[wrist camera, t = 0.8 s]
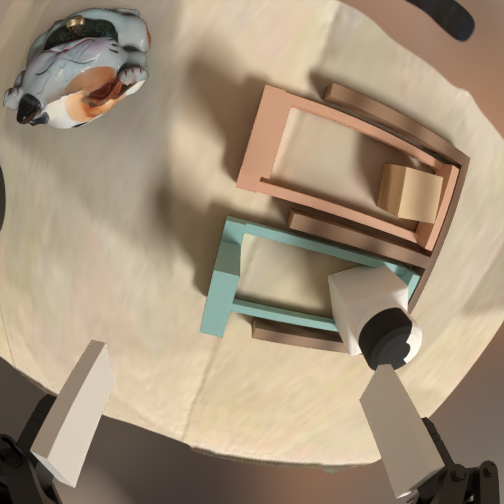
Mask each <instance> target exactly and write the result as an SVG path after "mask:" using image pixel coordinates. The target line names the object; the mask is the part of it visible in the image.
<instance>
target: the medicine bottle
mask: <svg viewBox="0 0 504 504" xmlns="http://www.w3.org/2000/svg"><path fill="white" fill-rule="evenodd" d="M328 283H329V290H330V298H331V305H332V313H333V319H334V321H335V323H336V328H337V330H338V332H339V334H340V336H341V339H342V341H343V343H344V345H345V347H346V349H347V352H348V354H349V355H350V356H354V355H357V354H360V353H362V354H363V356H364V358H365V360H366V362H367V364H368V365H369V367H370V368H371V369H372V370H374V371H376V369H377V367H378V365H385V364H391V366H392V367H393V369H394V370H396V369H398V368H400V367H402V366H404V365H405V364H406V363H408V362H409V361H410V360H411V359H412V358H413V357H414V356H415V354H416V353H417V351H418V350H419V348H420V345H421V341H422V330H421V328H420V326H419V325H418V324H417V323H416V321H415V320H414V319H413V318H412V317H411V316H410V314H409V313H408V312H407V310H408V286H407V285H406V284H405V283H404V282H403V281H402V280H401V279H400V278H399V277H398V276H397V275H396V274H395V273H394V272H393V271H392V270H391V269H389V268H388V267H387V266H386V265H383V266H380V267H377V268H374V267H371V266H367V265H362V266H359V267H355V268H352V269H348V270H344V271H341V272H337V273H333V274H330V275H328Z"/></svg>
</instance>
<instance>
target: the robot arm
mask: <svg viewBox="0 0 504 504" xmlns="http://www.w3.org/2000/svg"><path fill="white" fill-rule="evenodd" d="M4 215H5V188H4V181H3V176H2V172H1V169H0V230H1V228H2V225H3V221H4ZM114 384H115V380H114V376H113V372H112V368H111V364H110V360H109V355H108V351H107V346H106V343H104V342H99V341H95V340H91V342H90V343H89V345H88V347H87V348H86V350H85V351H84V353H83V355H82V356H81V358H80V359H79V361H78V363H77V364H76V366H75V368H74V369H73V371H72V373H71V374H70V376H69V378H68V379H67V381H66V383H65V384H64V386H63V388H62V390H61V391H60V393H59V395H58V397H55V396H52V395H50V394H47V395H46V396H45V397H43V398H42V399H41V400H40V401H39V403H38V404H37V406H36V408H35V411H33V413H32V415H31V418H29V420H28V422H27V424H26V426H25V428H24V429H23V431H22V433H21V435H20V437H19V439H18V441H17V442H15V441H14V440H13V439H12V438H11V437H10V436H8V435H6V434H0V504H63V503H62V501H61V499H60V497H59V495H58V493H57V490H56V488H55V485H54V483H53V482H52V479H53V476H55V477H56V478H57V479H58V480H59V481H60V482H63V483H65V484H67V485H70V486H72V487H74V488H75V486H76V483H77V479H78V477H79V474H80V471H81V468H82V465H83V462H84V459H85V457H86V454H87V451H88V448H89V446H90V443H91V440H92V437H93V435H94V432H95V430H96V427H97V425H98V422H99V419H100V417H101V415H102V412H103V410H104V407H105V405H106V403H107V400H108V398H109V396H110V393H111V391H112V389H113V386H114ZM360 403H361V405H362V408H363V410H364V413H365V415H366V418H367V420H368V423H369V425H370V428H371V431H372V433H373V436H374V438H375V441H376V444H377V446H378V449H379V452H380V454H381V457H382V460H383V463H384V465H385V468H386V471H387V474H388V476H389V479H390V482H391V485H392V488H393V491H394V494H395V496H396V498H399V497H402V496H405V495H408V494H410V493H412V492H413V491H414V490H415V489H417V490H418V493H416V494H415V495H413V496H412V497H411V498H409V499H408V500H407V503H409V502H410V501H412V500H413V499H414V500H413V502H412V503H411V504H500V500H499V480H498V470H497V467H496V465H495V464H494V463H493V462H492V461H484V462H483V463H482V464H481V465H480V466H479V467H474V468H465V467H464V466H462V465H460V464H455V463H454V462H453V461H452V459H451V457H450V455H449V453H448V451H447V449H446V447H445V445H444V443H443V441H442V440H441V437H440V435H439V434H438V433H437V430H436V428H435V426H434V424H433V423H432V422H431V421H430V420H429V419H428V418H427V417H425V418H421V417H420V415H419V414H418V412H417V410H416V408H415V406H414V404H413V403H412V401H411V399H410V397H409V395H408V394H407V392H406V390H405V388H404V386H403V385H402V383H401V381H400V379H399V378H398V376H397V374H396V373H395V371H394V369H393V367H392V366H391V364H385V365H378V367H377V369H376V371H375V373H374V375H373V376H372V378H371V380H370V382H369V384H368V386H367V388H366V389H365V391H364V393H363V395H362V396H361V398H360ZM472 496H474V497H473V501H471V500H470V497H472Z"/></svg>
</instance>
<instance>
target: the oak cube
mask: <svg viewBox="0 0 504 504" xmlns="http://www.w3.org/2000/svg"><path fill="white" fill-rule="evenodd" d="M442 181H443V177H440V176H437V175H433V174H430V173H427V172H423V171H420V170H416V169H412V168H409V167H404V166H399V165H393V164H388V163H384V164H383V171H382V178H381V184H380V190H379V196H378V202H377V207H379V208H381V209H383V210H385V211H387V212H389V213H391V214H392V215H394V216H396V217H399V218H405V219H411V220H416V221H422V222H427V223H433V224H434V223H435V218H436V214H437V209H438V204H439V199H440V193H441V187H442Z"/></svg>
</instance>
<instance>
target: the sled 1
mask: <svg viewBox="0 0 504 504" xmlns="http://www.w3.org/2000/svg"><path fill="white" fill-rule="evenodd" d="M291 107H294V108H297V109H300V110H303V111H306V112H309V113H312V114H315V115H317V116H320V117H323V118H326V119H328V120H331V121H334V122H336V123H339V124H341V125H344V126H346V127H349V128H351V129H354V130H356V131H358V132H361V133H363V134H365V135H368V136H370V137H372V138H374V139H376V140H379V141H381V142H383V143H385V144H387V145H389V146H391V147H393V148H395V149H397V150H399V151H401V152H403V153H405V154H407V155H409V156H411V157H413V158H415V159H417V160H419V161H420V162H422V163H424V164H426V165H428V166H429V167H431V168H433V169H435V170H436V171H435V174H434V175H437V176H440V177H443V181H442V187H441V193H440V199H439V204H438V209H437V214H436V218H435V223H434V224H433V223H427V222H422V221H419V223H418V226H417V228H416V231H415V232H412V231H410V230H407V229H405V228H402V227H400V226H397V225H394V224H392V223H389V222H386V221H384V220H381V219H378V218H376V217H373V216H370V215H367V214H365V213H362V212H359V211H356V210H353V209H350V208H347V207H344V206H341V205H338V204H335V203H332V202H329V201H326V200H323V199H320V198H317V197H314V196H311V195H307V194H304V193H301V192H298V191H294V190H291V189H287V188H284V187H281V186H277V185H274V184H270V183H267V182H263V181H260V179H261V177H264V178H267V179H269V178H270V175H271V172H272V168H273V165H274V162H275V158H276V155H277V151H278V148H279V145H280V141H281V138H282V134H283V131H284V128H285V124H286V121H287V118H288V114H289V111H290V108H291ZM458 172H459V169H458V168H456V167H455V166H453V165H449V164H443V163H442V162H440V161H438V160H437V159H435V158H433V157H432V156H430V155H428V154H427V153H425V152H423V151H421V150H420V149H418V148H416V147H414V146H412V145H410V144H409V143H407V142H405V141H403V140H401V139H399V138H397V137H395V136H393V135H391V134H389V133H387V132H385V131H383V130H381V129H379V128H377V127H374V126H372V125H370V124H368V123H366V122H363V121H361V120H359V119H357V118H354V117H352V116H349V115H347V114H345V113H342V112H340V111H337V110H335V109H332V108H329V107H327V106H324V105H321V104H319V103H316V102H313V101H310V100H307V99H304V98H301V97H298V96H295V95H292V94H289V93H286V90H282V89H279V88H276V87H272V86H268V85H265V87H264V90H263V93H262V97H261V100H260V103H259V107H258V110H257V113H256V117H255V120H254V123H253V127H252V130H251V134H250V137H249V141H248V144H247V148H246V151H245V155H244V158H243V162H242V165H241V169H240V172H239V176H238V180H237V183H236V187H237V188H241V189H245V190H248V191H252V192H260V193H264V194H267V195H271V196H274V197H278V198H282V199H285V200H288V201H292V202H295V203H299V204H302V205H305V206H309V207H312V208H315V209H318V210H322V211H325V212H328V213H331V214H334V215H337V216H341V217H344V218H347V219H350V220H353V221H356V222H359V223H362V224H365V225H368V226H371V227H373V228H376V229H379V230H382V231H385V232H388V233H390V234H393V235H396V236H399V237H401V238H404V239H407V240H410V241H412V242H415V243H417V244H419V245H420V246H422V247H423V248H425V249H427V250H430V251H432V249H433V247H434V244H435V242H436V239H437V237H438V234H439V231H440V229H441V226H442V223H443V220H444V218H445V215H446V212H447V209H448V206H449V203H450V200H451V196H452V193H453V190H454V186H455V183H456V179H457V176H458Z"/></svg>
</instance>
